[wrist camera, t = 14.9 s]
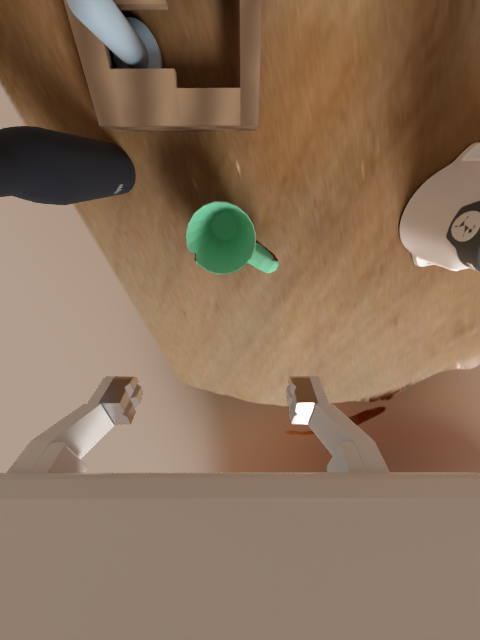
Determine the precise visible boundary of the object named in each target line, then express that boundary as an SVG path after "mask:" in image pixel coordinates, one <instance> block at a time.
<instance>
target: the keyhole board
mask: <svg viewBox="0 0 480 640" xmlns="http://www.w3.org/2000/svg"><path fill="white" fill-rule="evenodd" d="M63 1H64V4H65V8H66V11H67V15H68V18H69V22H70V25H71V29H72V32H73V36H74V39H75V43H76V46H77V50H78V53H79V57H80V60H81V64H82V67H83V71H84V74H85V78H86V81H87V85H88V88H89V92H90V95H91V99H92V102H93V106H94V109H95V113H96V116H97V120H98V123H99V126H101V127H104V128H107V129H110V130H113V131H239V130H256V128H257V126H258V118H259V85H260V52H261V20H262V0H240V88H178V84H177V75H176V71H175V69H113V66H112V62H111V58H110V53H109V49H108V47H107V46H106V45H105V44H104V43H103V42H102V41H101V40H100V39H99V38H98V37H96V36H95V35H94V34H93V33H92V32H91V31H90V30H89V29H88V28H87V27H86V26H85V25H84V24H83V23H82V22H81V21H80V20H79V19H78V18H77V17H76V16H75V15H74V14H73V12H72V11H71V9H70V7H69V6H68V3H67V1H66V0H63ZM113 1H114V3H115V4H116V6H117V7H118V8H119V10H169V9H168V0H113Z"/></svg>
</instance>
